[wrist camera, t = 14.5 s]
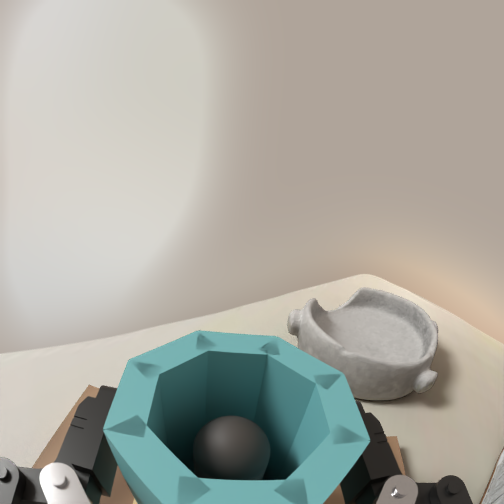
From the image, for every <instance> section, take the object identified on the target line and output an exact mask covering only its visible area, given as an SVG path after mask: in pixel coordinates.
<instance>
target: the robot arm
mask: <svg viewBox="0 0 504 504" xmlns="http://www.w3.org/2000/svg"><path fill="white" fill-rule="evenodd" d="M116 391H117V388H113V387H108V386H103V385H102V386H101V387H100V389H99V391H98V393H97V396H96V398H94V397H90V396H88V397H86V398H85V399H84V400H83V401H82V402H81V403H80V404H79V405H78V407H77V410H76V412H75V414H74V418H73V419H72V421H71V424H70V426H69V429H68V431H67V433H66V436H65V438H64V441H63V443H62V446H61V448H60V451H59V453H58V456H57V458H56V460H55V461H54V462H53V463H51V464H48V465H47V466H45V467H44V468H40V469H36V468H25V467H17V466H16V465H15V464H14V463H13V462H12V461H11V460H10V459H8V458H5V457H0V504H99V503H100V498H101V495H103V496H107V497H110V496H111V491H112V487H113V482H114V478H115V474H116V470H117V466H118V464H117V462H116V460H115V458H114V455H113V453H112V451H111V448H110V446H109V444H108V441H107V439H106V436H105V434H104V431H103V427H104V425H105V422H106V419H107V416H108V413H109V410H110V407H111V405H112V402H113V399H114V397H115V394H116ZM355 402H356V404H357V407H358V409H359V412H360V414H361V417H362V419H363V422H364V425H365V427H366V430H367V432H368V435H369V437H370V442H369V444H368V445H367V447H366V448H365V450H364V451H363V453H362V454H361V455H360V457H359V458H358V460H357V461H356V462H355V464H354V465H353V467H352V468H351V469H350V471H349V472H348V473H347V475H346V476H345V477H344V478H343V480H342V481H341V482H340V486H341V490H342V494H343V497H344V501H345V504H473V503H472V501H471V498H470V496H469V494H468V491H467V489H466V486H465V484H464V482H463V481H462V480H461V479H460V478H459V477H457V476H453V475H448V476H445V477H443V478H442V479H441V480H440V481H439V482H437V483H416V482H415V481H414V480H413V479H411V478H410V477H408V476H405V475H403V474H402V473H401V471H400V468H399V466H398V463H397V461H396V459H395V456H394V454H393V452H392V449H391V447H390V445H389V442H387V438H386V435H385V434H384V431H383V428H382V426H381V424H380V422H379V421H378V419H377V418H376V417H375V416H374V415H373V414H372V413H365V411H364V409H363V407H362V404H361V403H360V402H359V401H355Z"/></svg>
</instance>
